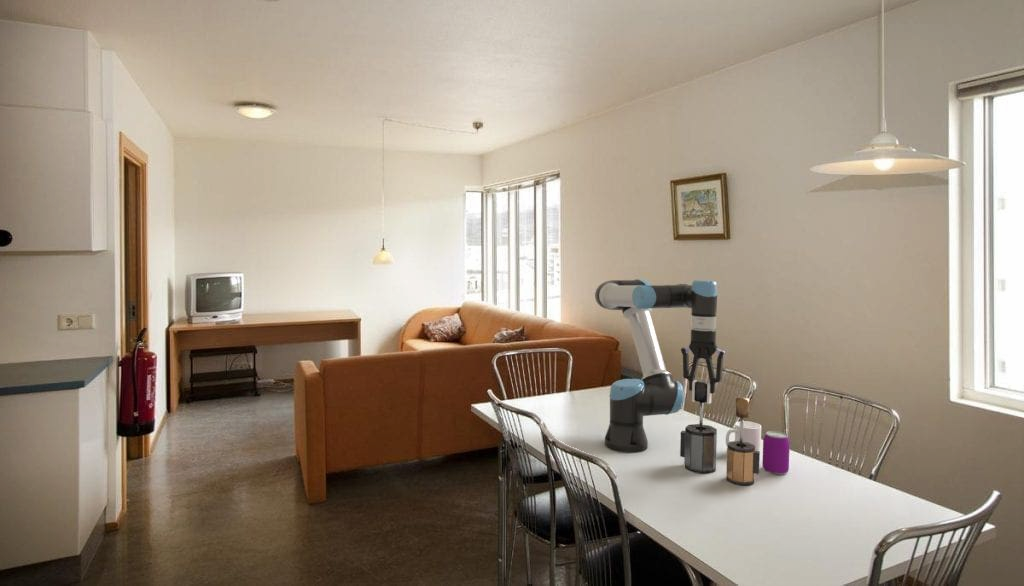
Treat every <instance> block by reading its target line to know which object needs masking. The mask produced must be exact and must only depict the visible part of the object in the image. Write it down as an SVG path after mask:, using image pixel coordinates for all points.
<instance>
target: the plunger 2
mask: <svg viewBox="0 0 1024 586" xmlns="http://www.w3.org/2000/svg"><path fill="white" fill-rule="evenodd" d="M735 417H737V418H740V419H739V420H740V421H739V422H740V447H743V422H744V419H746V418H749V417H750V397H748V396H736V397H735Z"/></svg>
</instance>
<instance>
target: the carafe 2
mask: <svg viewBox="0 0 1024 586" xmlns="http://www.w3.org/2000/svg"><path fill="white" fill-rule="evenodd" d="M760 455H761V451H760V452H759V451H755V446H754V445H752V444H750V443H748V442H743V447H740V441H735V440H733V441H729V443H728V444H727V445H726V471H725V472H726V474H725V475H726V477H725V478H726V479H725V480H726V481H727V482H729V483H730V484H732V485H735V486H740V487H741V486H744V487H746V486H753V485H754V484H755V475H759V474H760V459H761V458H760Z"/></svg>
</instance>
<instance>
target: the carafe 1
mask: <svg viewBox="0 0 1024 586" xmlns="http://www.w3.org/2000/svg"><path fill="white" fill-rule="evenodd" d="M717 430H718V428H715V427H714V426H712V425H709V424H708V425H707V424H703V430H699V423H694V424H688V425H686V426H685V429H684V430H682V431H680V449H679V454H680V455H679V456H680V457H682V458H684V463H683V466H684V468H685V470H687V471H688V472H692V473H695V474H702V475H703V474H705V475H708V474H714V473H715V472H716V470H717V443H718V441H717V438H718V437H717V436H718V431H717Z"/></svg>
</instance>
